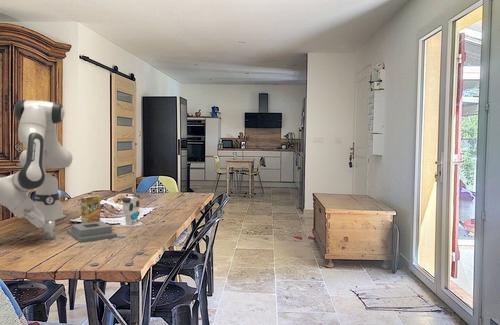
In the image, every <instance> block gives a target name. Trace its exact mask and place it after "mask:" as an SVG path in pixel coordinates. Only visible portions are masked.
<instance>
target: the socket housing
mask: <svg viewBox="0 0 500 325" xmlns="http://www.w3.org/2000/svg"><path fill="white" fill-rule="evenodd" d="M112 228H113V226H112V225H110V224H108V223H106V222H104V221H101V220H100V221H98V222H90V223H82V224H81V223H75V224H71V228H69V229H66V233H67V235H69V236H71V237H72V238H74V239H75V240H77V241H78V242H79V243H81V244H82V243H87V242H94V241H102V240H108V239H115V238H118V233H116V232H114V231H113V229H112Z"/></svg>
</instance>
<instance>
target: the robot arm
mask: <svg viewBox="0 0 500 325" xmlns="http://www.w3.org/2000/svg"><path fill="white" fill-rule="evenodd" d="M13 114H14V117H15V118H16V119H17V120H18V121H19V124H18V129H17V136H18V141H19V142H20V143H21V144H22V145H24V146H25V147H26V149H25V150H23V151H22V152H21V153H20V154H19V163H20V165H21V166H22V168H21V169H20V170H18V171H17V172H15V173H13V174H10V175H8V176H7V175H6V176H2V177H1V176H0V205H1V206H4V207H6V208H7V209H8V210H9V211H10V212H11V213H12V214H13V215H14V216H16V217H17V218H19V219H22V218H24V219H26V220H27V221H28V222H29V223H31V224H32V225H33V226H34V227H36V228H38V229H41V228H42V229H43V230H44V229H45V230H47V231H48V232H50V231H51V230H52V228H51V227H50V226H48V225H47V224H46V223H45V221H47V220H55V221H57V220H60V219H63V218H66V217H67V216H66V214H63V213H64V212H63V202H61V201H60V193H59V180H58V178H57V177H55V176H54V175H52V174H49V173H48V172H46V170H47V169H48V170H49V169H53V170H54V169H55V170H56V169H57V170H58V169H64V168H69V167H70V166H71V164H72V162H73V155H72V153H71V151H70V150H68V149H67V148H65V147H64V146H63V145H62V144H61V143H60V141H59V139H58V130H57V124H60V123H62V122H63V119H64V117H65V109H64V106H63V105H62V104H61V103H58V102H55V101H54V102H52V101H48V100H47V101H46V100H27V99H21V100H17V101H16V102H15V104H14V108H13ZM33 190H35V195H34V200H33V199H32V198H30V197H29V196H28V195H27V193H29V192H31V191H33Z"/></svg>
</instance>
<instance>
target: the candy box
mask: <svg viewBox="0 0 500 325" xmlns="http://www.w3.org/2000/svg"><path fill="white" fill-rule="evenodd" d="M80 212H81V213H80V217H81V218H80V220H81V223H80V224H82V223H90V222H98V221H101V196H100V195H89V196H83V197H82V196H81V197H80Z"/></svg>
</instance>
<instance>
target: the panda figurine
mask: <svg viewBox="0 0 500 325" xmlns="http://www.w3.org/2000/svg"><path fill="white" fill-rule="evenodd" d="M122 202H123V203H122V211H123V214H124V219H125V221H124V222H122V223H120V226H121V227H127V228H128V227H129V228H130V227H133V228H134V227H139V226H142V225H143V222H141V221H139V216H140V211H139V209H140V194H139V195H137V194H132V195H131V196H127V197H122Z"/></svg>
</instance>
